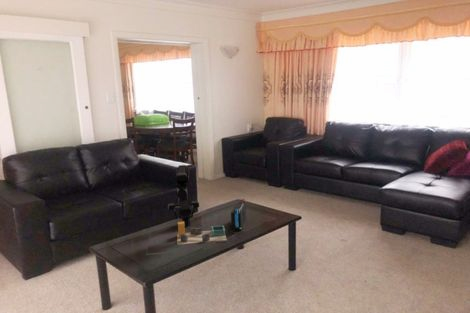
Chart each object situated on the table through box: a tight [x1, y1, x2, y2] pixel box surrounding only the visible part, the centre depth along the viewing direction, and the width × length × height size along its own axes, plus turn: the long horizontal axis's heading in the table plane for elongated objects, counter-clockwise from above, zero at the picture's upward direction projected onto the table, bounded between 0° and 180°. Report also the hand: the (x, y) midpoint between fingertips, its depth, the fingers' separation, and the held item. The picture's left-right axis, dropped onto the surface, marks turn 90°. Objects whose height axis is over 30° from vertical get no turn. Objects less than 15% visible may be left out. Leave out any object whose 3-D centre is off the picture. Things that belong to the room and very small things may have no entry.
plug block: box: [177, 221, 186, 238], centre depth 232 cm, size 4×4×9 cm
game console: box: [230, 198, 247, 231], centre depth 250 cm, size 28×6×15 cm, turn 168°
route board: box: [176, 224, 228, 245], centre depth 230 cm, size 17×30×5 cm, turn 98°
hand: (184, 218), depth 229 cm, fingers open, 9 cm apart
